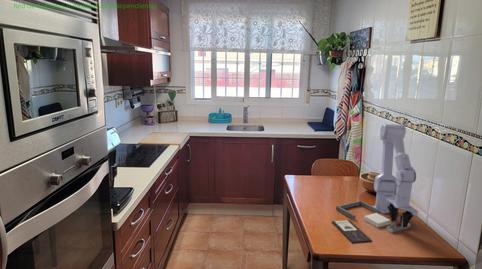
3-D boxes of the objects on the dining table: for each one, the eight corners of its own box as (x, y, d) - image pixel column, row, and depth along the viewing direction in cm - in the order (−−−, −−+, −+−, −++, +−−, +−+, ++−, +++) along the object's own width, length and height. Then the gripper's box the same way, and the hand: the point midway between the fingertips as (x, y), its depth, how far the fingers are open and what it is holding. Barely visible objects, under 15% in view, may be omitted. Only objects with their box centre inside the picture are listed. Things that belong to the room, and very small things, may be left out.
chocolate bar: (352, 242, 135) (331, 221, 152) (351, 244, 135) (331, 223, 152) (371, 240, 136) (349, 220, 154) (371, 242, 137) (349, 221, 154)
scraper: (404, 224, 152) (406, 210, 151) (410, 227, 149) (412, 213, 148) (386, 230, 147) (388, 215, 145) (391, 233, 144) (394, 218, 143)
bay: (360, 204, 173) (360, 200, 172) (378, 213, 163) (379, 209, 162) (336, 209, 165) (336, 206, 165) (353, 219, 155) (354, 215, 155)
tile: (375, 217, 159) (376, 212, 158) (389, 224, 152) (390, 220, 152) (363, 220, 155) (364, 215, 155) (377, 228, 148) (378, 223, 148)
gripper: (383, 190, 149) (379, 218, 152) (412, 203, 136) (407, 233, 139) (393, 188, 152) (389, 215, 155) (422, 200, 140) (418, 229, 143)
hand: (399, 223), depth 148 cm, fingers open, 5 cm apart
